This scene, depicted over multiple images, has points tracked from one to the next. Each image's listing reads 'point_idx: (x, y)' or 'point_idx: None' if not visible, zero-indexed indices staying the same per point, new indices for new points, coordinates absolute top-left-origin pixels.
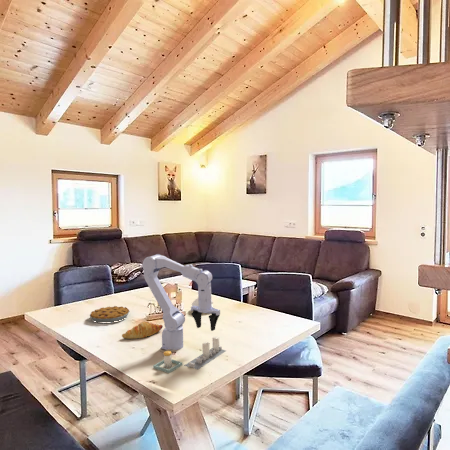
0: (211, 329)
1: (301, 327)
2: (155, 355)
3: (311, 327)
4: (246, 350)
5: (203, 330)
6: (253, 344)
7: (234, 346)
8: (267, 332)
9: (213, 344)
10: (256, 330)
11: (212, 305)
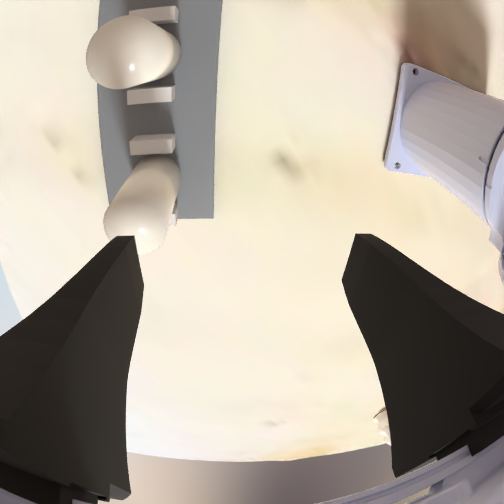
0: (119, 243)
1: None
2: (470, 16)
3: None
4: (62, 281)
5: None
6: None
7: None
8: (138, 407)
9: (149, 175)
10: (178, 409)
11: (382, 433)
